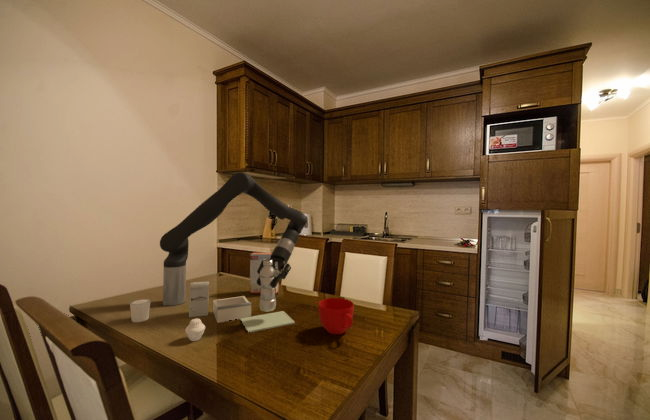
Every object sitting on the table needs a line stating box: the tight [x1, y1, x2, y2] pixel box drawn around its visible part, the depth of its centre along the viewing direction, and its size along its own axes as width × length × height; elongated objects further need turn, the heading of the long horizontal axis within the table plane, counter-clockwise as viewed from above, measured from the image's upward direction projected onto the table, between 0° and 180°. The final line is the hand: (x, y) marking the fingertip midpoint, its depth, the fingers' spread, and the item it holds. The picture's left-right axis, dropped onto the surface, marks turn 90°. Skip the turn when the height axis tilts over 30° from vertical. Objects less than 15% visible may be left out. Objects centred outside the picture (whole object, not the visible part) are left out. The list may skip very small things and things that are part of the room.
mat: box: [239, 310, 296, 334], centre depth 109 cm, size 18×13×1 cm
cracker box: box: [249, 252, 280, 295], centre depth 147 cm, size 14×6×21 cm, turn 84°
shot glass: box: [129, 298, 151, 323], centre depth 110 cm, size 7×7×7 cm
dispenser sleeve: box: [212, 295, 252, 324], centre depth 116 cm, size 13×13×6 cm
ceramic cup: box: [318, 297, 355, 335], centre depth 100 cm, size 13×17×10 cm
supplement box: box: [188, 281, 210, 319], centre depth 117 cm, size 7×7×13 cm
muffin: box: [184, 317, 206, 342], centre depth 94 cm, size 6×6×7 cm
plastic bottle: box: [259, 259, 277, 313], centre depth 109 cm, size 6×7×20 cm
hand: (265, 285), depth 108 cm, fingers closed on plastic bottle, 6 cm apart
